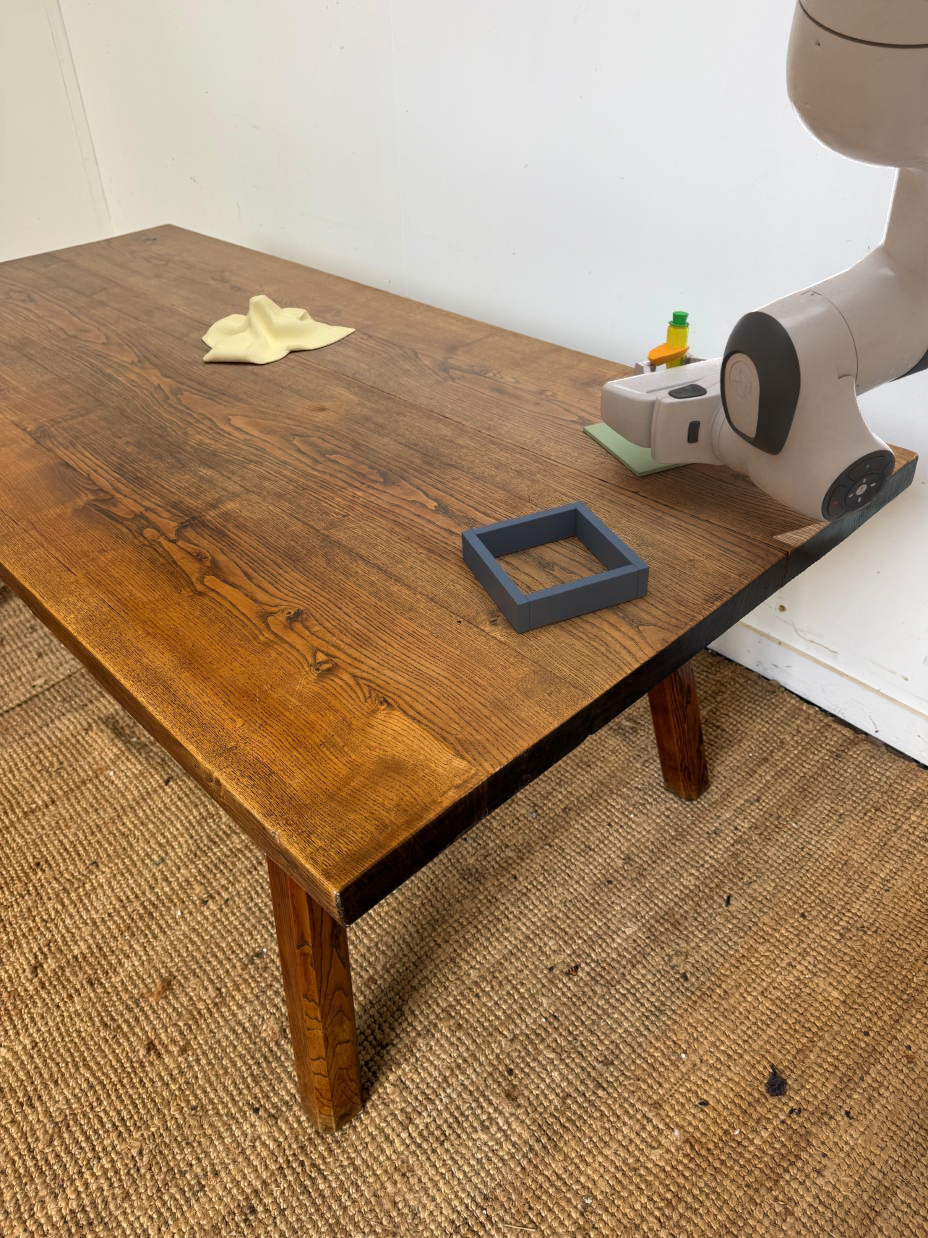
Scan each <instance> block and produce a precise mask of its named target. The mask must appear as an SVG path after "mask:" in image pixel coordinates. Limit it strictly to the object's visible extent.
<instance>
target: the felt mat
mask: <svg viewBox="0 0 928 1238" xmlns="http://www.w3.org/2000/svg"><path fill="white" fill-rule="evenodd" d="M582 429H583V432H584V433H585V434H587V436H589V437H590V438H591V439H593V440H594V441H595V442H596V443H597V444H599V446H601V447H602V448H603V449H604V450H606V451H607V452H608V453H609V454H610V455H612V456H613V457H614V458H615V459H616V460H617V461H619V463H621V464H622V465H624V466H625V467H626V468H627V469H629V470H630V471H631V472H632V473H633V474H634V475H636V476H637V477H644V476H647V475H652V474H655V473H659V472H663V471H667V470H671V469H675V468H679V467H682V466H687V465H691V464H692V463H679V464H660V463H658V462H656V461H655V460H654V459H653V458H652V457H651V448H644V447H640V446H638V445H635V444H633V443H631V442H629V441H628V440H626V439H625V438H623V437H622V436H621V435H619V434H618V433H616V432H615V431H614V430H613V429H611V428H610V427H609V426H608V425H607V424H605V422H604V421H603V422H602V421H601V422H600V423H599V422H598V423H594V424H591V425H590V424H589V425H586V426H583V427H582Z"/></svg>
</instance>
